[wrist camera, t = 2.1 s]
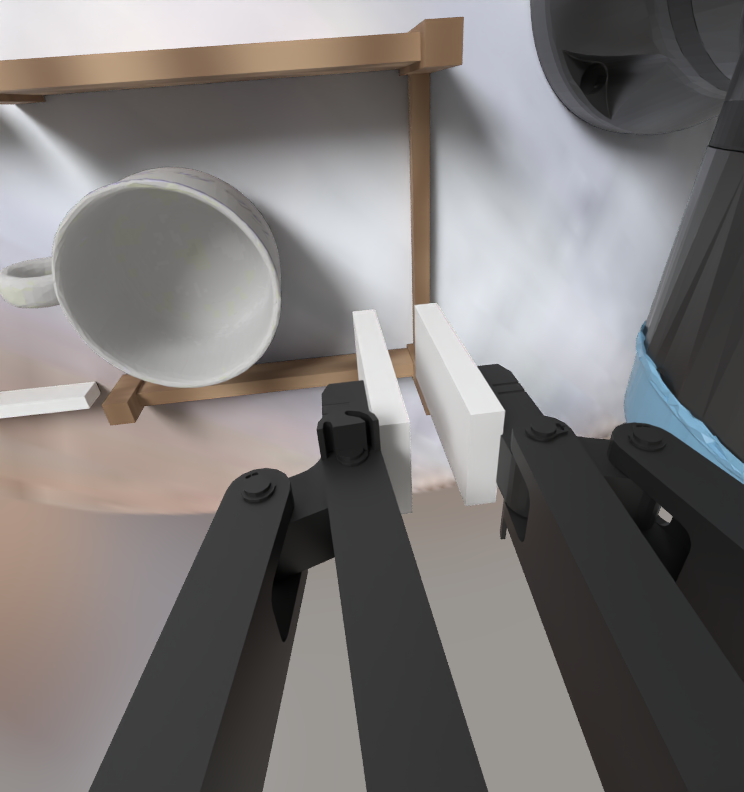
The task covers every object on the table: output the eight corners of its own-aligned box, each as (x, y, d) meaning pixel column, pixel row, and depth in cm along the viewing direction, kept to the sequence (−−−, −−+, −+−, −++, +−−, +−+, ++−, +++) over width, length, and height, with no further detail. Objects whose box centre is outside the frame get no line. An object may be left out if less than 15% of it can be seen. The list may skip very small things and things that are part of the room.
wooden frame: (427, 37, 25) (463, 17, 19) (428, 361, 35) (451, 412, 30) (-1, 67, 24) (-105, 54, 18) (130, 393, 34) (92, 454, 28)
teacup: (299, 184, 28) (295, 209, 21) (276, 345, 34) (267, 406, 27) (41, 124, 25) (-58, 130, 18) (61, 310, 31) (-11, 369, 24)
